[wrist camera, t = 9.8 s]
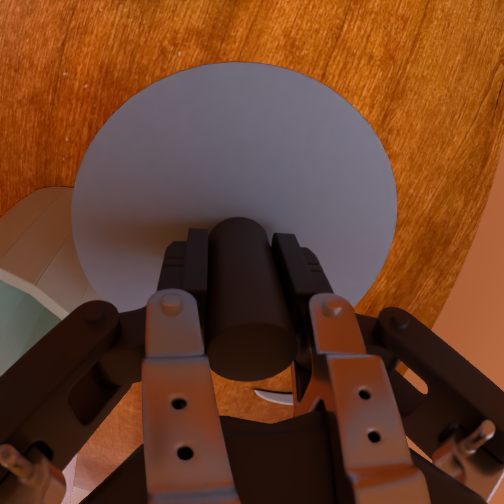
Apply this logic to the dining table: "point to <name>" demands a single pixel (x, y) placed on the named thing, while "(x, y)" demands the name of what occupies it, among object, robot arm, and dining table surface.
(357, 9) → the dining table surface
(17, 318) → the processor bowl
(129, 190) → the lid
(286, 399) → the knife
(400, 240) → the dining table surface
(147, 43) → the dining table surface
